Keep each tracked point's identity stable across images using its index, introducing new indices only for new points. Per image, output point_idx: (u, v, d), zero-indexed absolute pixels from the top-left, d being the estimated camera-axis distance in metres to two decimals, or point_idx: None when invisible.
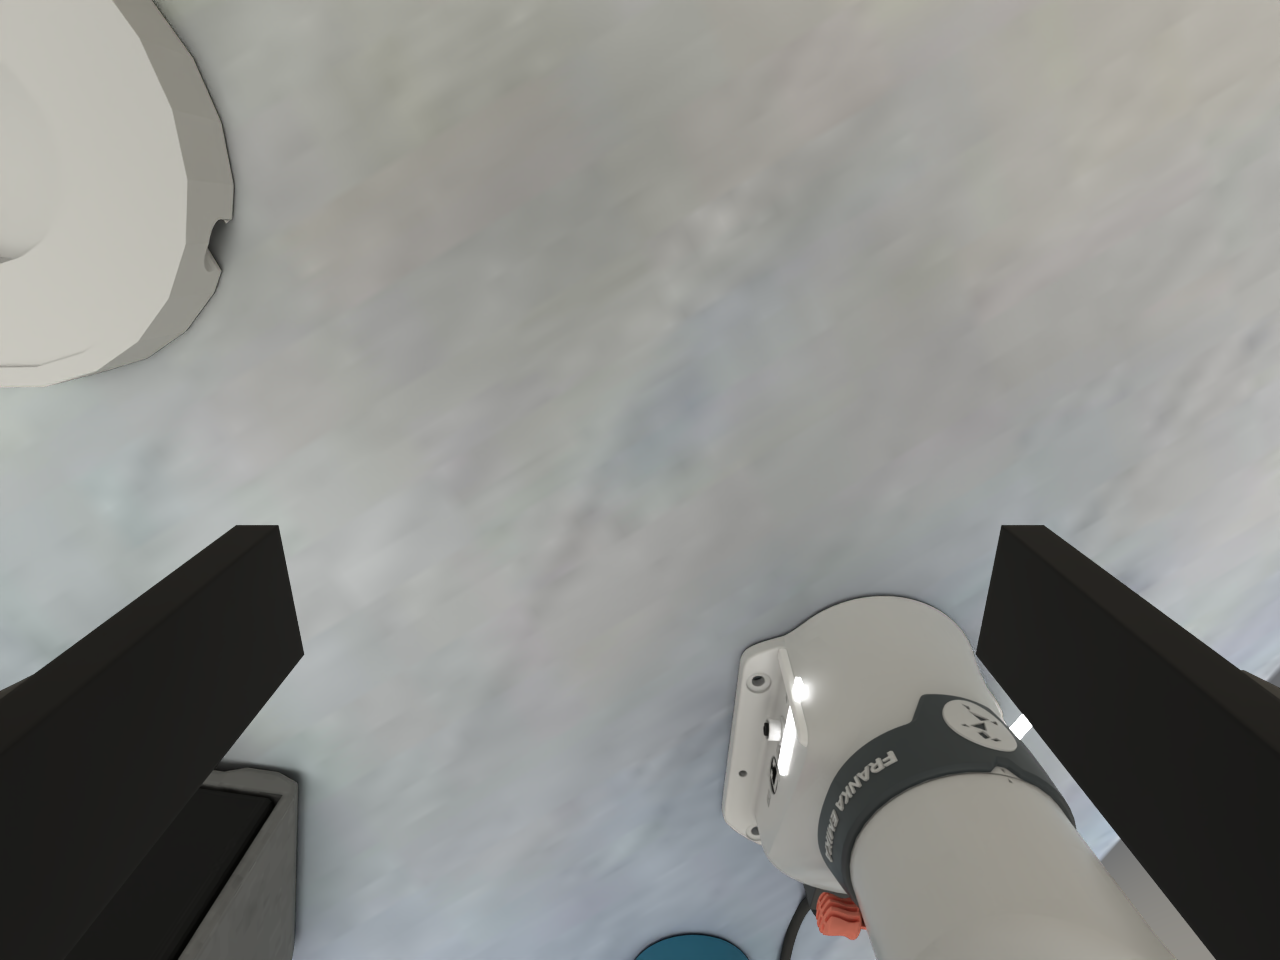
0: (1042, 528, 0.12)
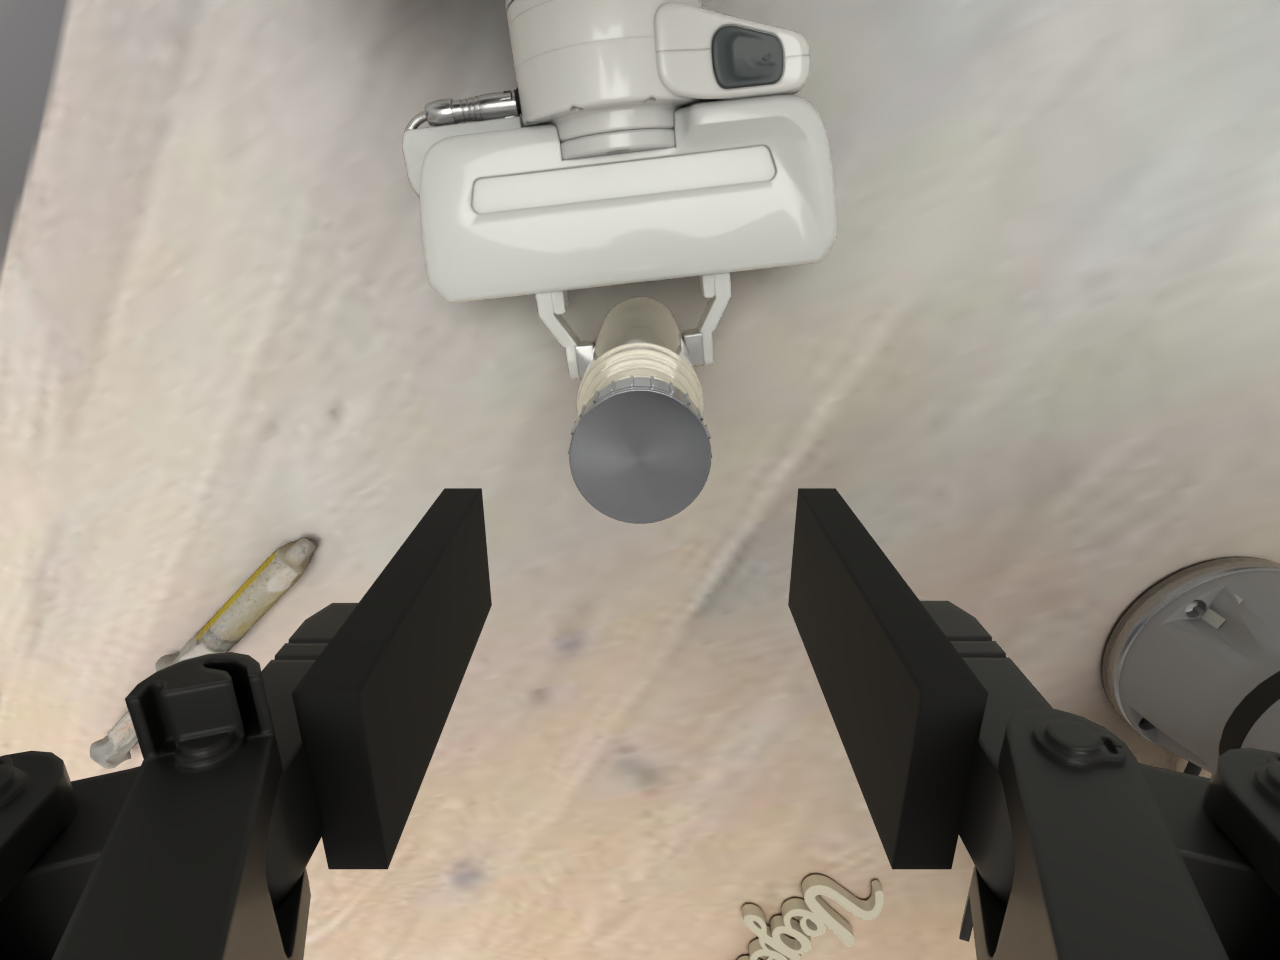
0: (832, 491, 0.14)
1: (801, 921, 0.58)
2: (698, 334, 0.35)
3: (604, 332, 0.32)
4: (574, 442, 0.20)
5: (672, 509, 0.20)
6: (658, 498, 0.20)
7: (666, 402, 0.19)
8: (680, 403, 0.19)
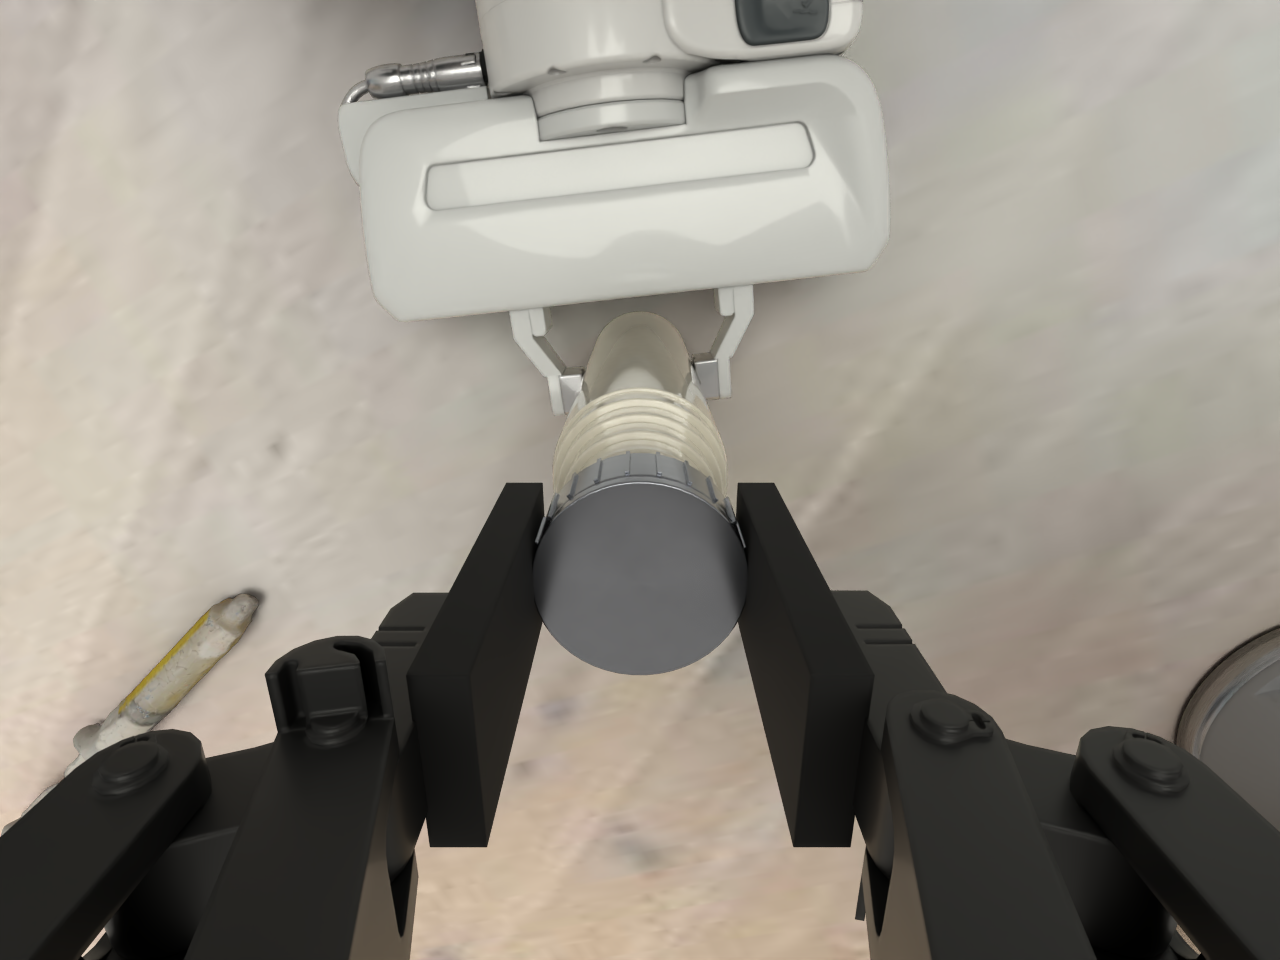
0: (770, 485, 0.14)
1: None
2: (713, 361, 0.28)
3: (594, 362, 0.25)
4: (538, 560, 0.13)
5: (689, 655, 0.14)
6: (668, 640, 0.13)
7: (681, 501, 0.12)
8: (703, 502, 0.12)
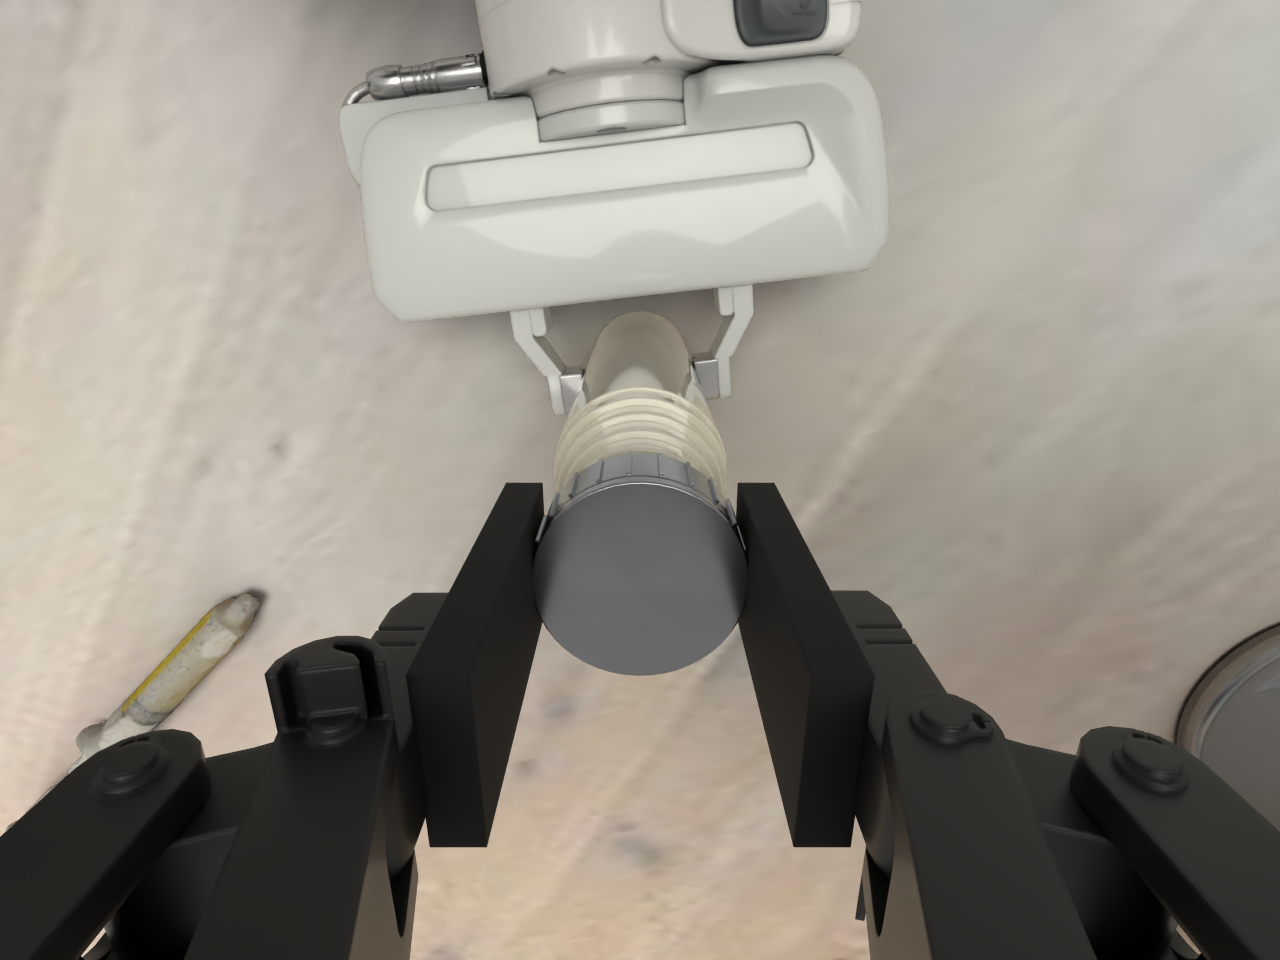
0: (770, 485, 0.14)
1: None
2: (712, 360, 0.28)
3: (594, 361, 0.25)
4: (682, 663, 0.14)
5: (673, 497, 0.12)
6: (673, 525, 0.13)
7: (548, 607, 0.13)
8: (535, 592, 0.13)
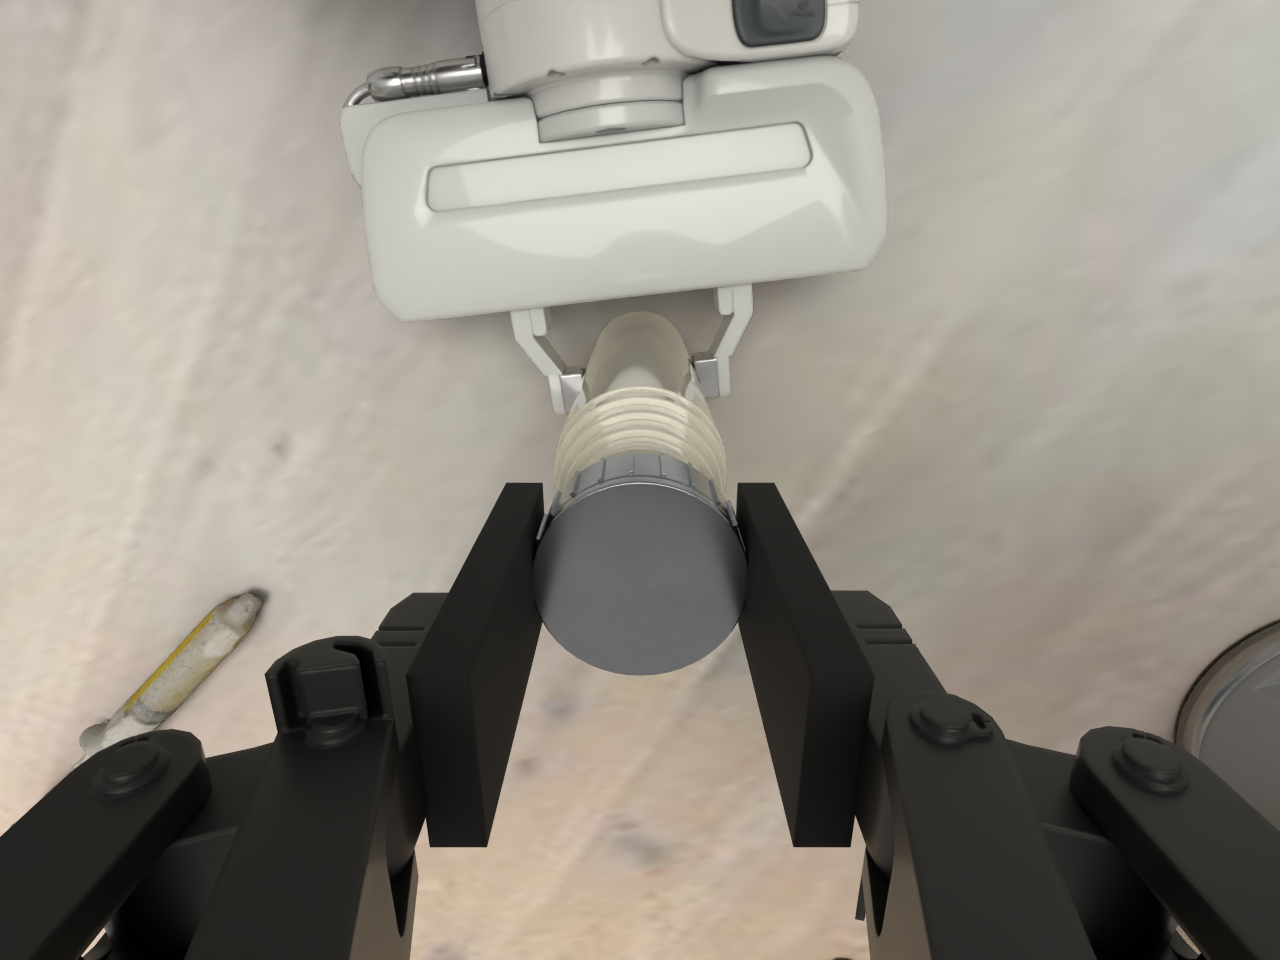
0: (770, 485, 0.14)
1: None
2: (712, 359, 0.29)
3: (594, 361, 0.25)
4: (686, 496, 0.12)
5: (549, 614, 0.13)
6: (571, 599, 0.13)
7: (718, 630, 0.13)
8: (712, 647, 0.13)
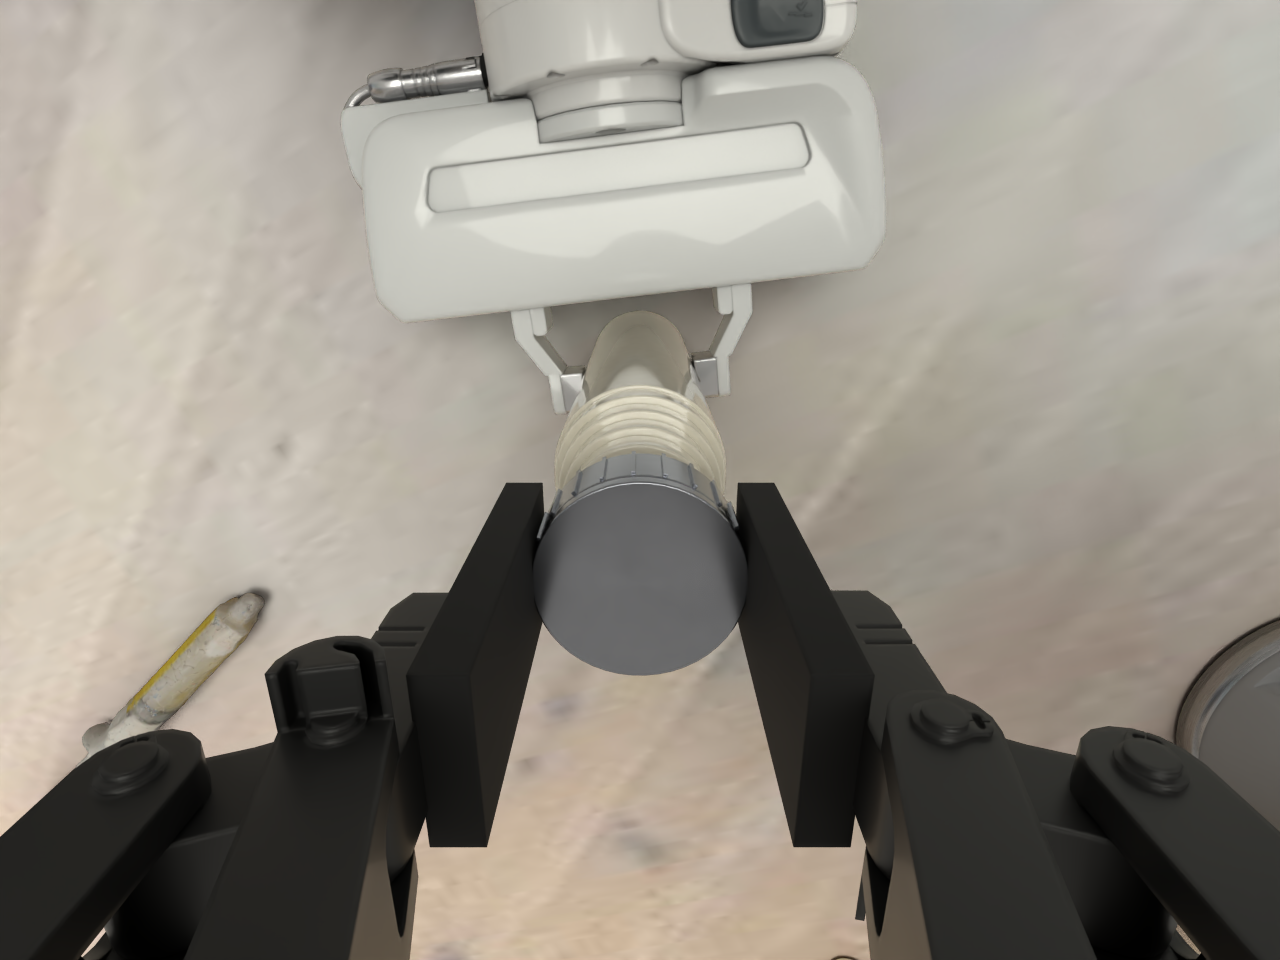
0: (770, 485, 0.14)
1: None
2: (712, 359, 0.29)
3: (594, 360, 0.25)
4: (541, 607, 0.13)
5: (724, 625, 0.13)
6: (696, 621, 0.13)
7: (629, 494, 0.12)
8: (649, 485, 0.12)
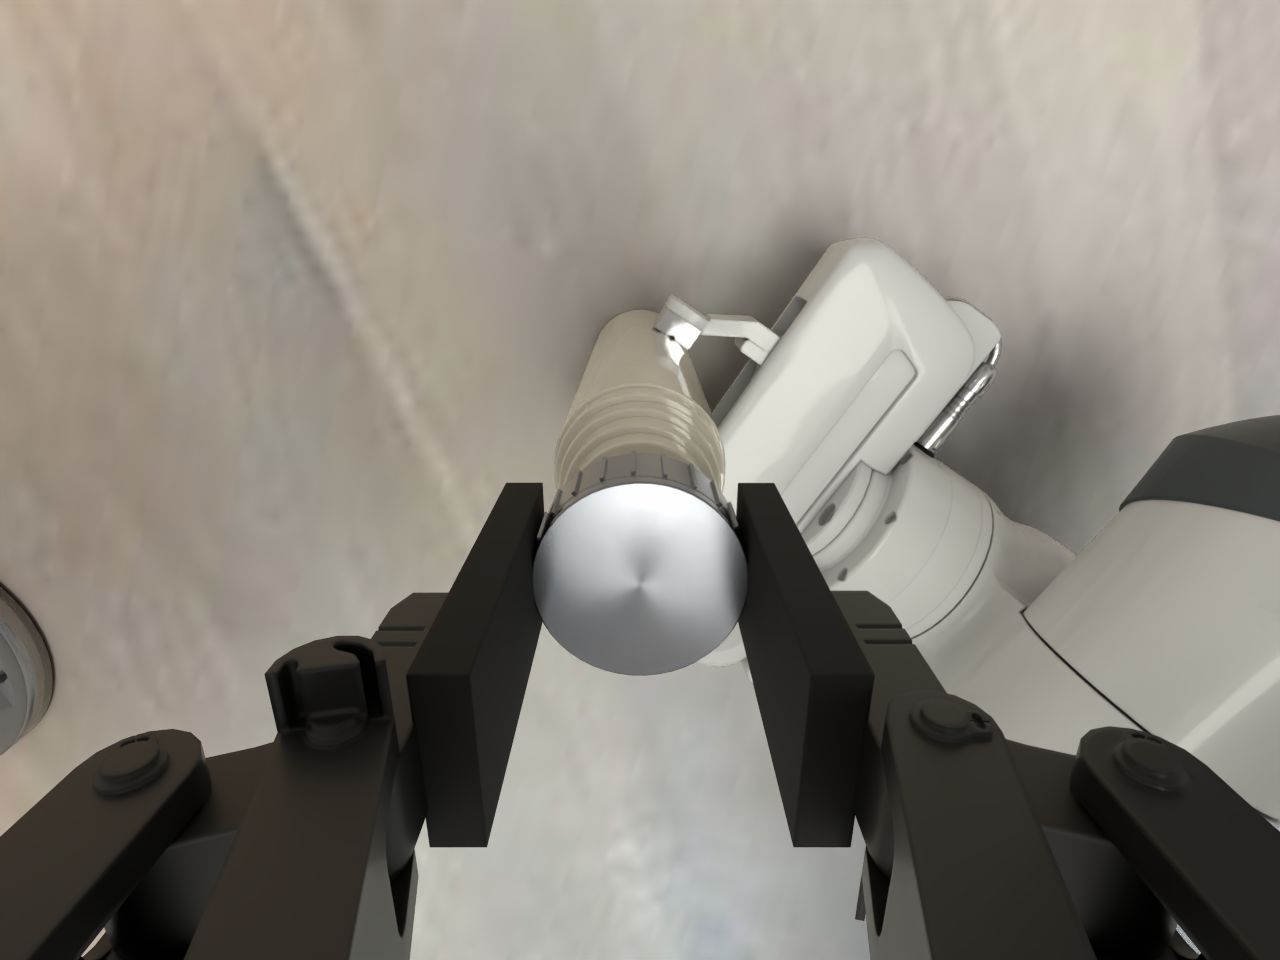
0: (770, 485, 0.14)
1: None
2: None
3: None
4: (541, 607, 0.13)
5: (724, 625, 0.13)
6: (696, 621, 0.13)
7: (629, 494, 0.12)
8: (650, 485, 0.12)
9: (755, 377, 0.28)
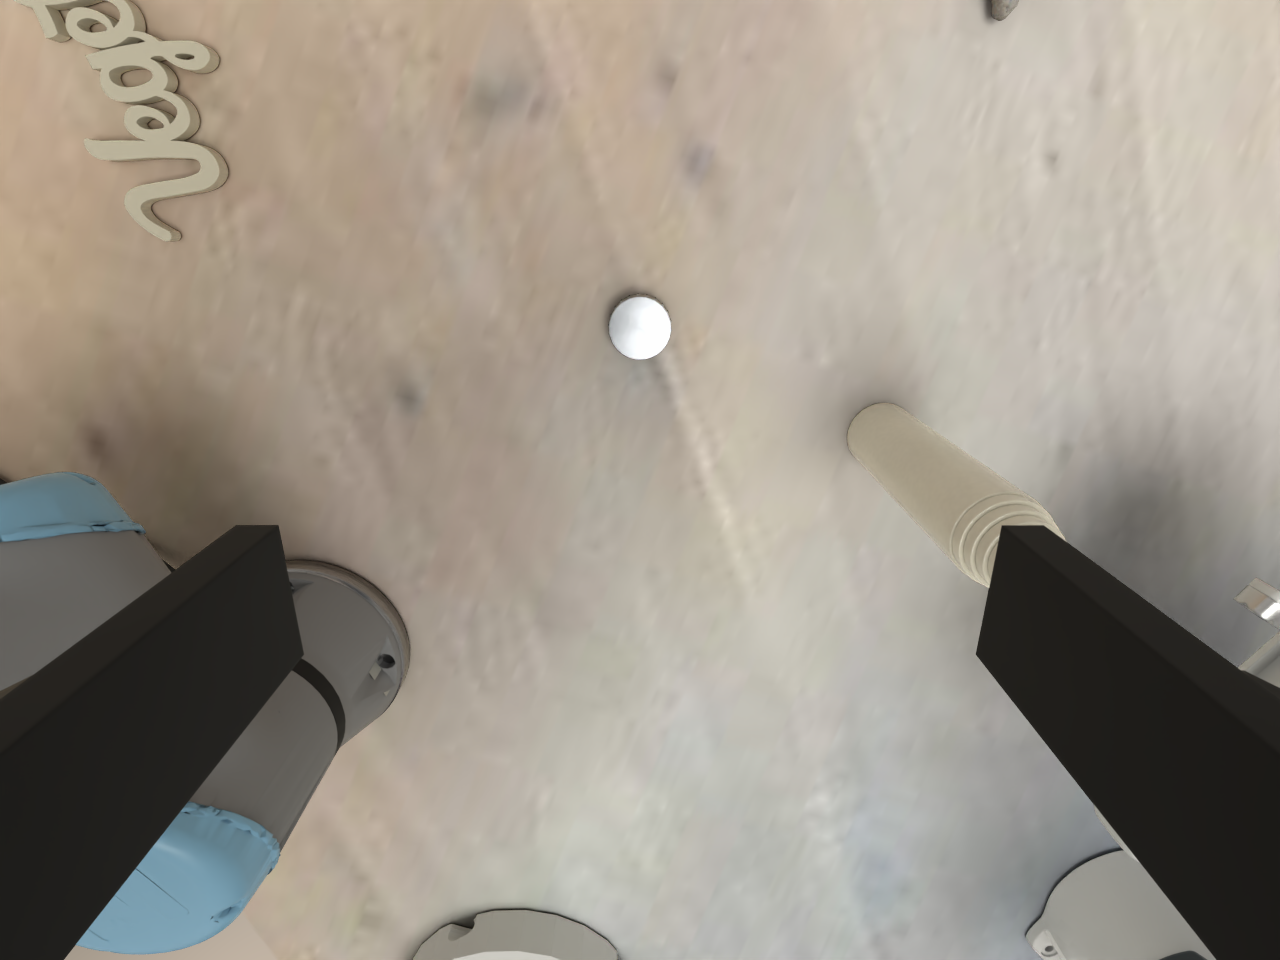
0: (1042, 528, 0.12)
1: (162, 115, 0.42)
2: None
3: None
4: (611, 336, 0.46)
5: (664, 342, 0.46)
6: (656, 340, 0.46)
7: (637, 300, 0.45)
8: (642, 297, 0.45)
9: None
